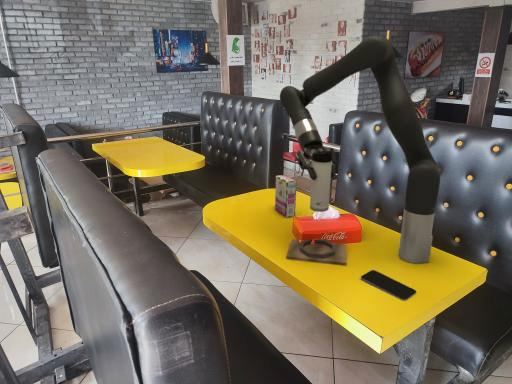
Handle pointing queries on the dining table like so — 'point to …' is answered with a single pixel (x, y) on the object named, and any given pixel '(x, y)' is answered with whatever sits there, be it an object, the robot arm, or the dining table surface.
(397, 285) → the smartphone
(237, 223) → the dining table surface
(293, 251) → the mug holder board
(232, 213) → the dining table surface
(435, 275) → the dining table surface
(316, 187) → the travel mug
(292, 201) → the candy bar box
